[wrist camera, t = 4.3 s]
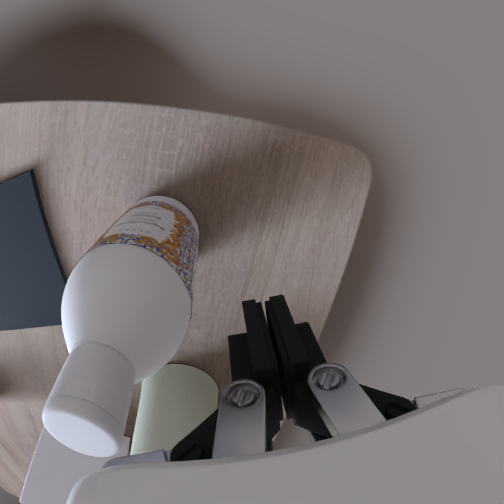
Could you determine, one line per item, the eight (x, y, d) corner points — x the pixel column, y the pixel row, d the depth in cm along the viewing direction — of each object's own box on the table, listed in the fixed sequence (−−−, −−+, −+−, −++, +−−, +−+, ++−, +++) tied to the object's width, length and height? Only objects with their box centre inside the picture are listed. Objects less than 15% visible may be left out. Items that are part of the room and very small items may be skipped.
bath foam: (203, 198, 25) (181, 384, 7) (196, 273, 27) (184, 490, 9) (123, 191, 24) (-37, 336, 5) (122, 266, 26) (31, 457, 8)
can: (162, 417, 35) (155, 494, 24) (128, 370, 31) (107, 456, 20) (228, 405, 35) (236, 487, 24) (202, 355, 31) (202, 449, 20)
